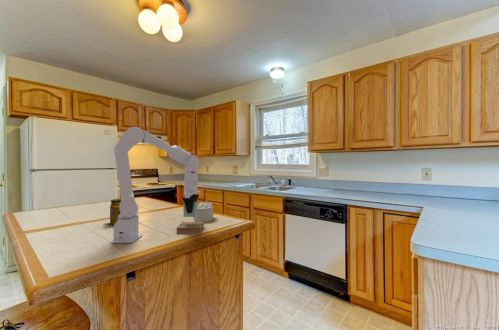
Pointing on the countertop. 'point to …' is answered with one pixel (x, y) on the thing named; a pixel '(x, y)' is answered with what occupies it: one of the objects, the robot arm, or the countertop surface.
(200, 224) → the walnut base
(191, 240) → the countertop surface
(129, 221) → the robot arm
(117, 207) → the condiment
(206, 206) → the lumpy-topped squat cylinder
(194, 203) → the teal block
